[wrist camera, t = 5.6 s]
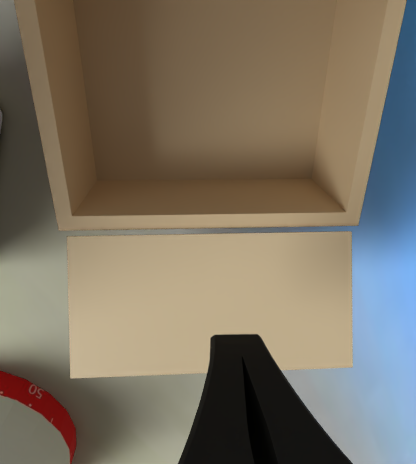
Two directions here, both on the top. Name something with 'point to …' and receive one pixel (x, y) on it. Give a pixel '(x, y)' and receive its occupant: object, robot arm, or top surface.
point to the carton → (208, 108)
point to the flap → (207, 300)
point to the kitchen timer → (33, 425)
